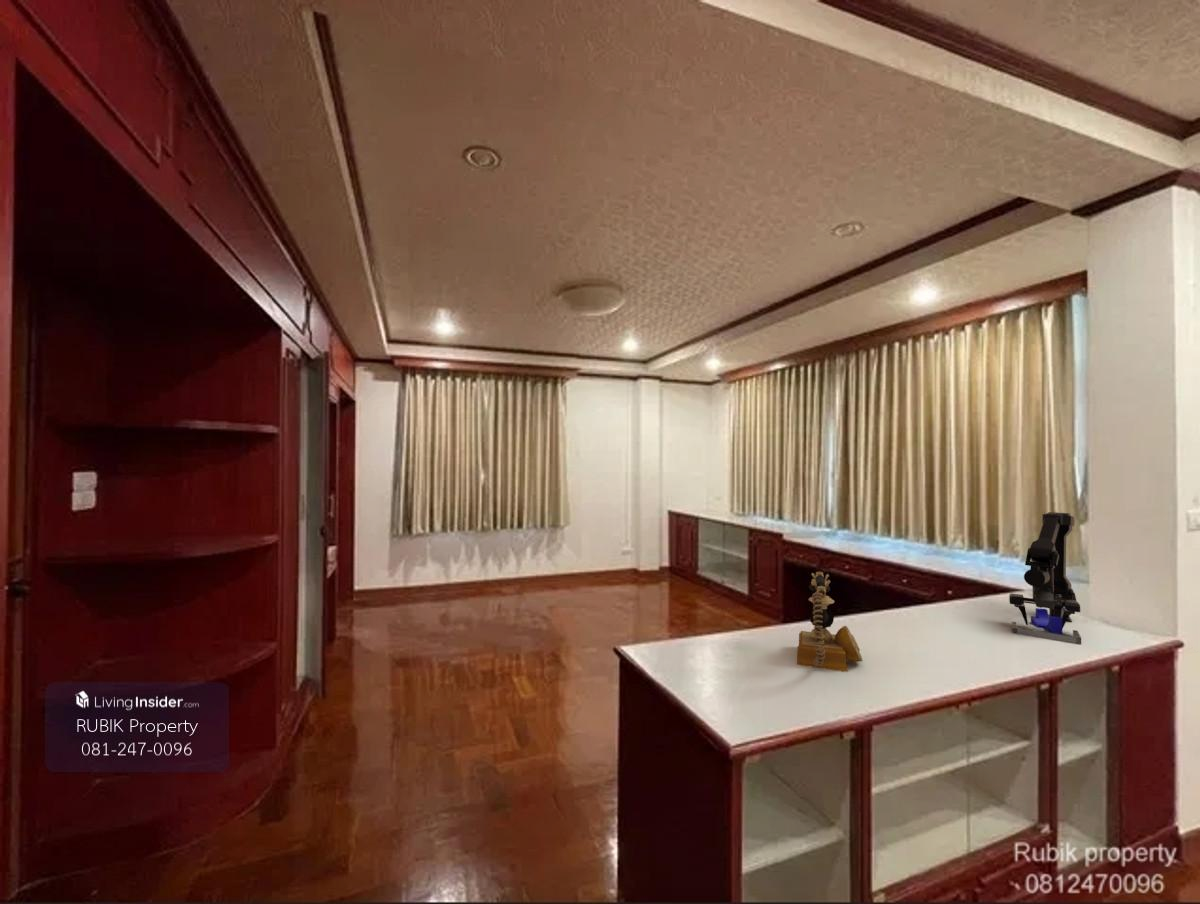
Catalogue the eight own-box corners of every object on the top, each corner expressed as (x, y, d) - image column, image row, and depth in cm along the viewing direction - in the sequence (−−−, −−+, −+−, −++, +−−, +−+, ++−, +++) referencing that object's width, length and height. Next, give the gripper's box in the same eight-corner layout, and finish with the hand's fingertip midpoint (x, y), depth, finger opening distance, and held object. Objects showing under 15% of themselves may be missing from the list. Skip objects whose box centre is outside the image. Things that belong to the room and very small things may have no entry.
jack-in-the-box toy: (871, 698, 132) (870, 597, 133) (795, 687, 139) (795, 590, 139) (858, 650, 165) (857, 570, 166) (797, 643, 172) (797, 566, 172)
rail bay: (1011, 627, 188) (1011, 621, 188) (1077, 637, 178) (1077, 630, 178) (1012, 634, 181) (1012, 627, 181) (1081, 644, 171) (1081, 637, 171)
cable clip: (1030, 624, 193) (1030, 607, 193) (1045, 625, 191) (1045, 608, 191) (1046, 634, 181) (1045, 617, 182) (1062, 636, 180) (1062, 618, 180)
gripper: (1010, 583, 184) (1010, 628, 184) (1082, 590, 173) (1083, 638, 173) (1008, 577, 193) (1009, 620, 193) (1077, 584, 182) (1078, 629, 182)
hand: (1043, 627), depth 185 cm, fingers open, 9 cm apart
